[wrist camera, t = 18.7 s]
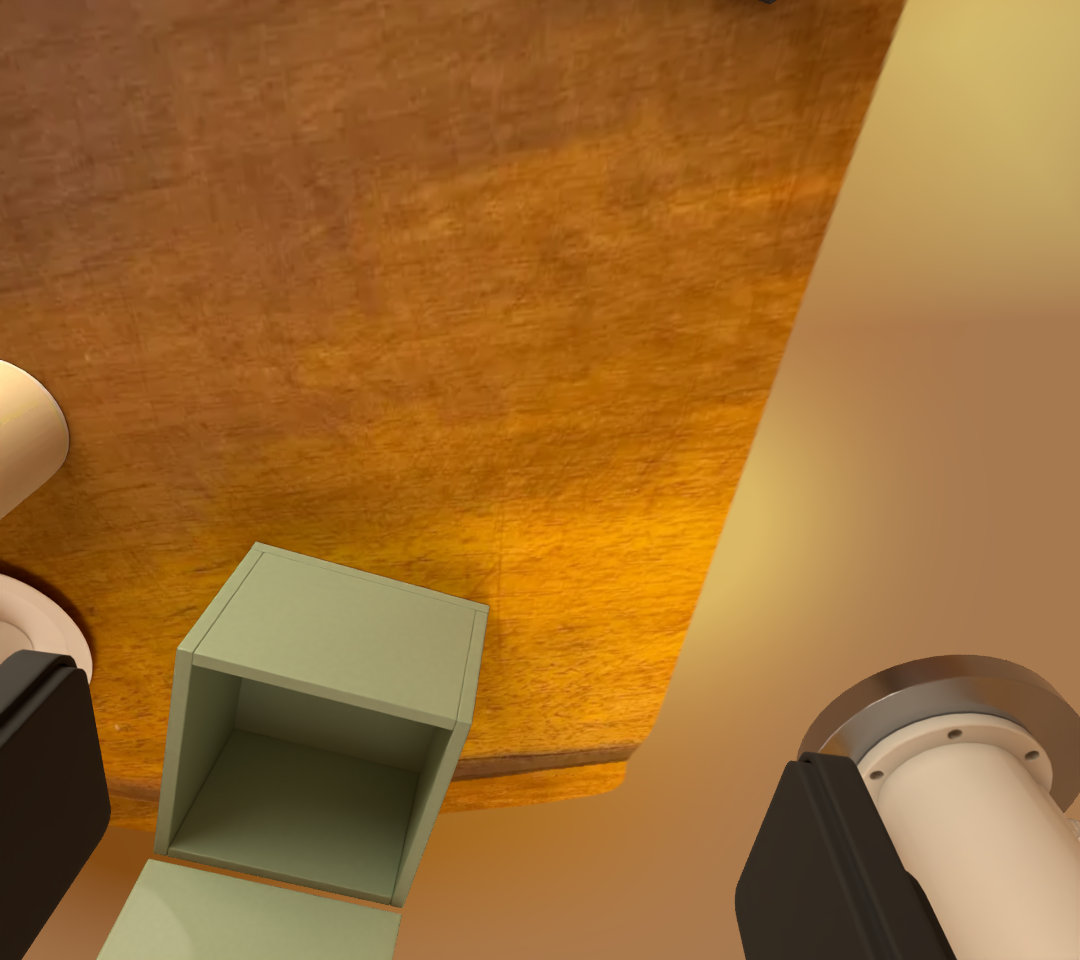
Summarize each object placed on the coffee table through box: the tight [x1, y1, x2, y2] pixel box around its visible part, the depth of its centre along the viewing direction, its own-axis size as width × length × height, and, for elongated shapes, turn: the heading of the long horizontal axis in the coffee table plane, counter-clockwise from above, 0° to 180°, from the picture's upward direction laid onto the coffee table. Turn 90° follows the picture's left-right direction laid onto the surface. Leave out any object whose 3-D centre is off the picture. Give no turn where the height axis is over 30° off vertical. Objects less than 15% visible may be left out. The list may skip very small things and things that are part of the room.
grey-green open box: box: [154, 542, 489, 908], centre depth 42 cm, size 16×15×10 cm
